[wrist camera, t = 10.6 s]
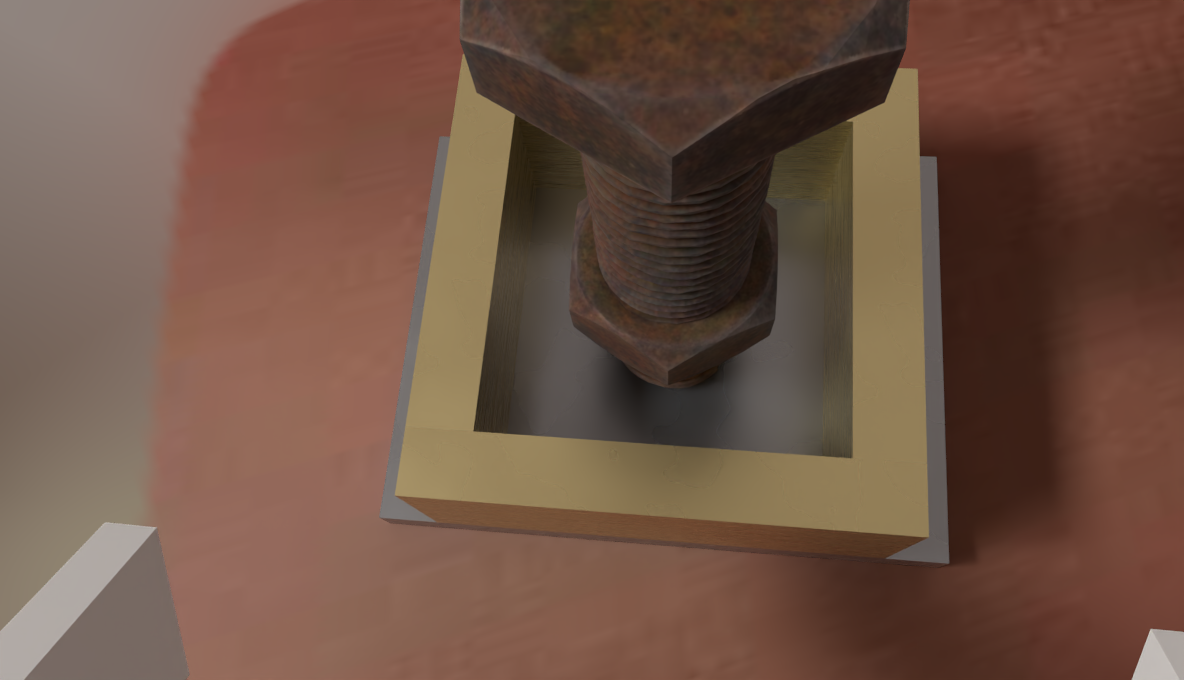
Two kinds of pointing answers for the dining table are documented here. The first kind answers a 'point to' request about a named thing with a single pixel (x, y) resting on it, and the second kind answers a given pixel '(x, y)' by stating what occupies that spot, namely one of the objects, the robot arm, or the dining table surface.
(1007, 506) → the dining table surface
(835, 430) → the mount
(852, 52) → the bolt
